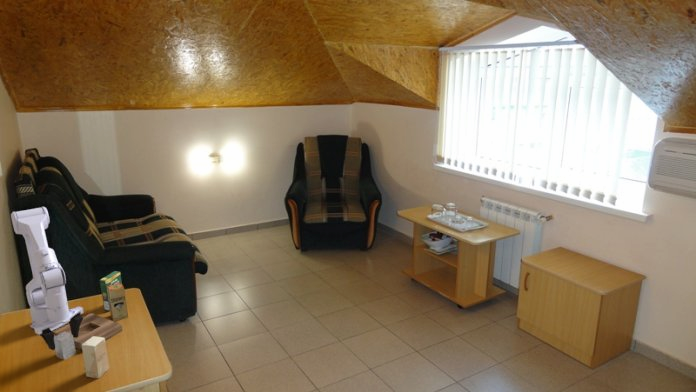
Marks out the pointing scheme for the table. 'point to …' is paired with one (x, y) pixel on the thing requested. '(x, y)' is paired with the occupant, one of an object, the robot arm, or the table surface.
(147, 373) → the table surface
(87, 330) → the socket block
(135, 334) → the table surface
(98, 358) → the box
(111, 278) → the coffee box
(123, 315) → the shoe polish box
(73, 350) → the peg
